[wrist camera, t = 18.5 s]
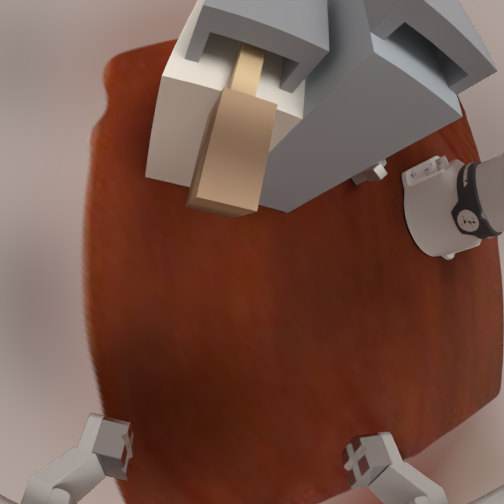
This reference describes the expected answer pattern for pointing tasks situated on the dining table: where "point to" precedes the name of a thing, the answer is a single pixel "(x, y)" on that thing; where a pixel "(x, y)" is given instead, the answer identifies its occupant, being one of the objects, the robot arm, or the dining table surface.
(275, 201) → the stand
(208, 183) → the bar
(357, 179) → the lighter
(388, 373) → the dining table surface
